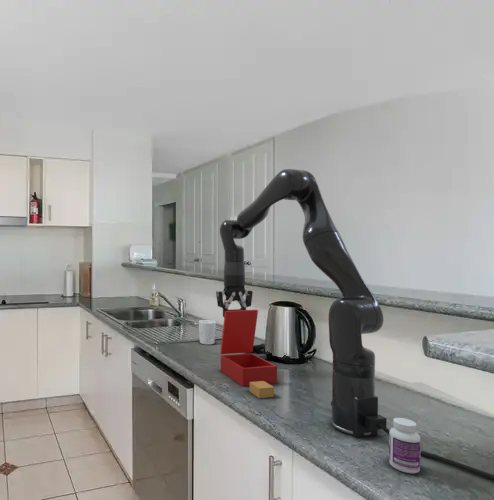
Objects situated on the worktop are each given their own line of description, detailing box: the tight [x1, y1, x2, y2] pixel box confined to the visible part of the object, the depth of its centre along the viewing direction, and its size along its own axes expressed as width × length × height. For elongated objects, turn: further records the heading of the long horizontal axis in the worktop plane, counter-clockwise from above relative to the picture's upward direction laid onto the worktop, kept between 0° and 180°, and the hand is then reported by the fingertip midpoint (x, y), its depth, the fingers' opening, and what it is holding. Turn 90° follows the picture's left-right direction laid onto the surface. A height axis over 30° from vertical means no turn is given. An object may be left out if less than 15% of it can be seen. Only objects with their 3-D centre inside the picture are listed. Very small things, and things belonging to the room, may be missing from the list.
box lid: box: [219, 308, 259, 355], centre depth 145 cm, size 17×13×5 cm
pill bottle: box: [388, 417, 422, 474], centre depth 83 cm, size 5×5×10 cm
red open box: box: [220, 352, 278, 387], centre depth 138 cm, size 16×13×6 cm
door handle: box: [252, 343, 292, 363], centre depth 161 cm, size 3×20×16 cm
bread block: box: [249, 381, 275, 399], centre depth 122 cm, size 6×5×3 cm
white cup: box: [198, 319, 217, 345], centre depth 184 cm, size 8×8×10 cm
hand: (234, 318), depth 147 cm, fingers closed on box lid, 6 cm apart
